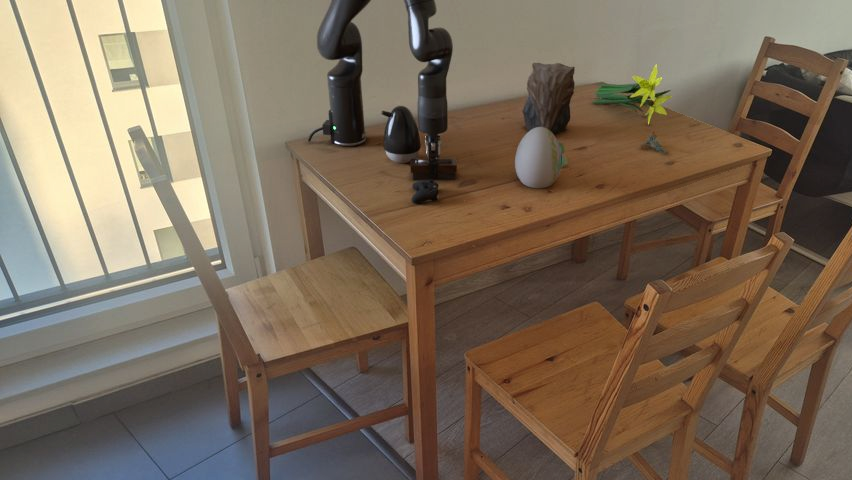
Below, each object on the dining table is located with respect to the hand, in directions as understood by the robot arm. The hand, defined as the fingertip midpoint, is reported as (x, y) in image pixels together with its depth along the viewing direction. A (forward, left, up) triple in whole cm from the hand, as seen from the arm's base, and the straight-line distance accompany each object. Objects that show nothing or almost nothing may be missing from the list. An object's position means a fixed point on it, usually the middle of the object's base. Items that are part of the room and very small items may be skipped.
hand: (433, 171), depth 179 cm
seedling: (+32, +15, -2) cm, 36 cm away
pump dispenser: (-10, +10, -2) cm, 15 cm away
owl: (+29, +40, -2) cm, 49 cm away
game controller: (0, -12, -2) cm, 12 cm away
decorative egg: (+28, +1, -2) cm, 28 cm away
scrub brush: (0, 0, -1) cm, 1 cm away
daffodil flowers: (+55, +61, -2) cm, 82 cm away
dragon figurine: (+62, +30, -2) cm, 69 cm away
